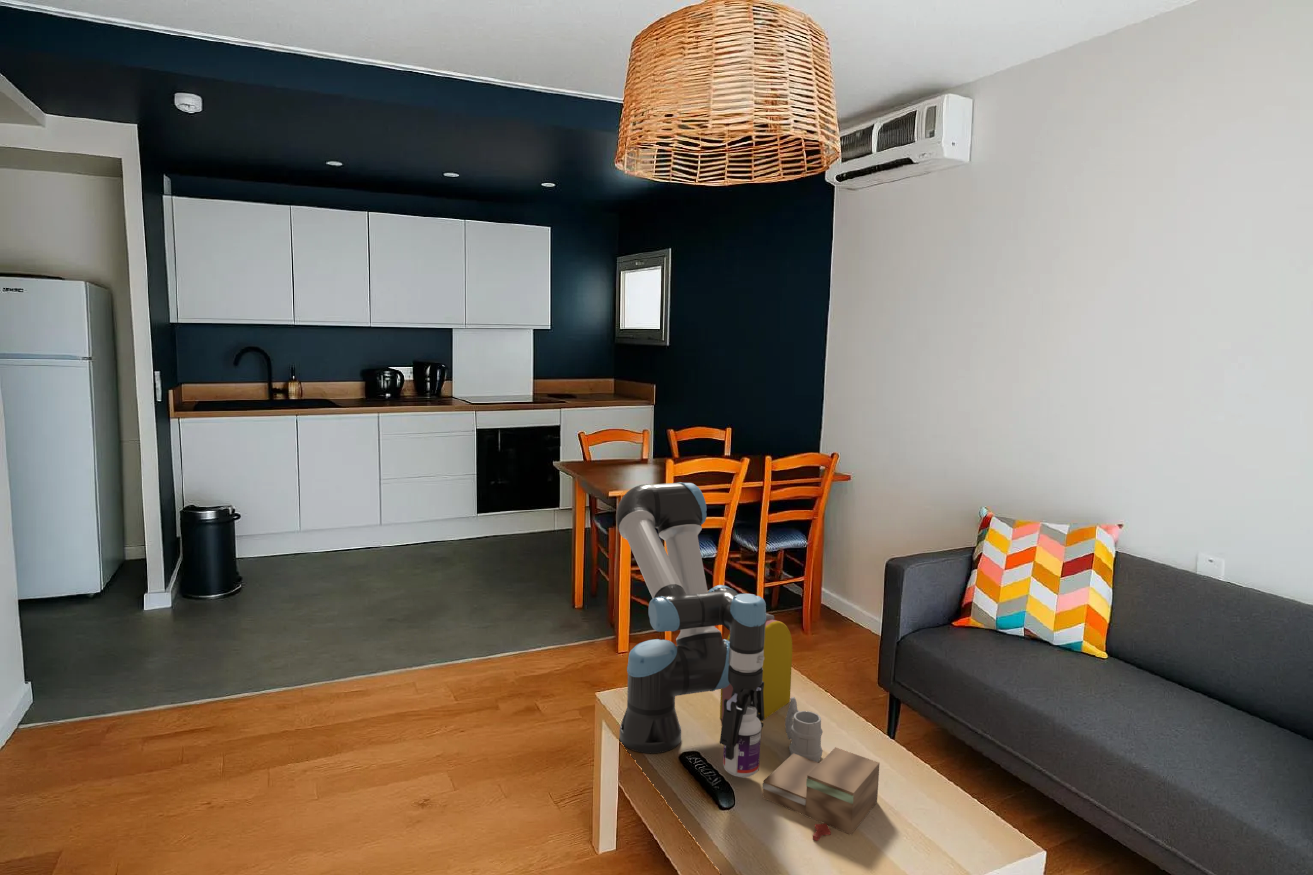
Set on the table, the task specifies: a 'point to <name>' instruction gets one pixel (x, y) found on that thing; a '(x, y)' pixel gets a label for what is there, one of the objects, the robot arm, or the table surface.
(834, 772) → the step stand
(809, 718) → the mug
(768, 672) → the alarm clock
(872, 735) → the table surface
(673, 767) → the table surface
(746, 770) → the pill bottle
